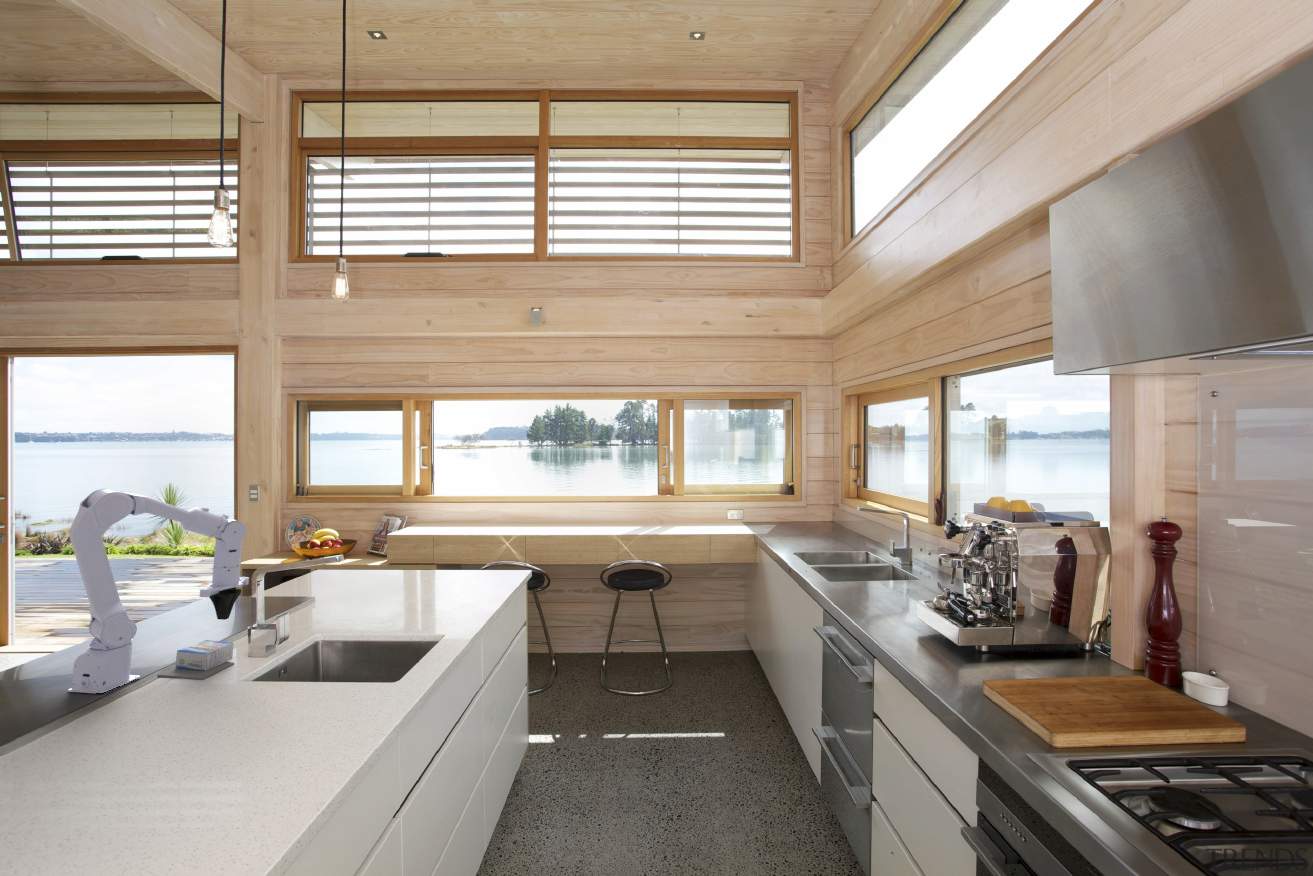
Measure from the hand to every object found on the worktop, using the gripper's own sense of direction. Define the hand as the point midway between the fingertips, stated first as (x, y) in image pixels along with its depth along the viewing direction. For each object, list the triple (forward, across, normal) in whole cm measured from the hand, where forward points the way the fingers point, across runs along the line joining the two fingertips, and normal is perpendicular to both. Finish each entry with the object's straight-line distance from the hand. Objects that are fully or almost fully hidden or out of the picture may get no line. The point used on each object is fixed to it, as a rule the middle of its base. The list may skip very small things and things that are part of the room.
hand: (223, 618), depth 152 cm
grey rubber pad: (+10, -8, 0) cm, 13 cm away
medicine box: (+8, 0, 0) cm, 8 cm away
